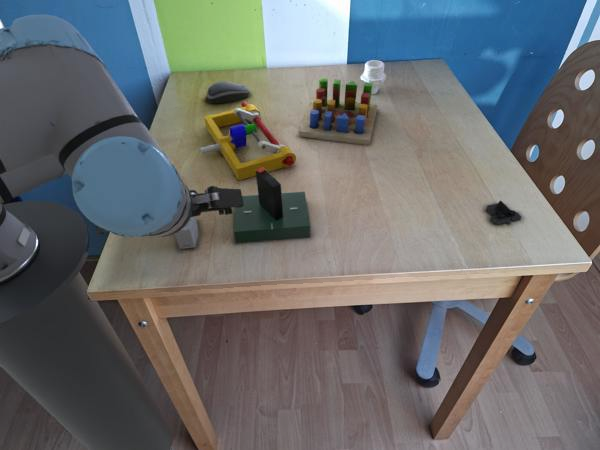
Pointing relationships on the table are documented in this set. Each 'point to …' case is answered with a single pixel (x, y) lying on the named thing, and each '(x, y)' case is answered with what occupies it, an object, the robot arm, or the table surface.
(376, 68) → the pipe fitting
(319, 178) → the table surface
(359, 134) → the peg board
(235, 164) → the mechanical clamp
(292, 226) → the green rectangular block
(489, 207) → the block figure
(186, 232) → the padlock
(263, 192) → the black bar red tab
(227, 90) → the computer mouse
